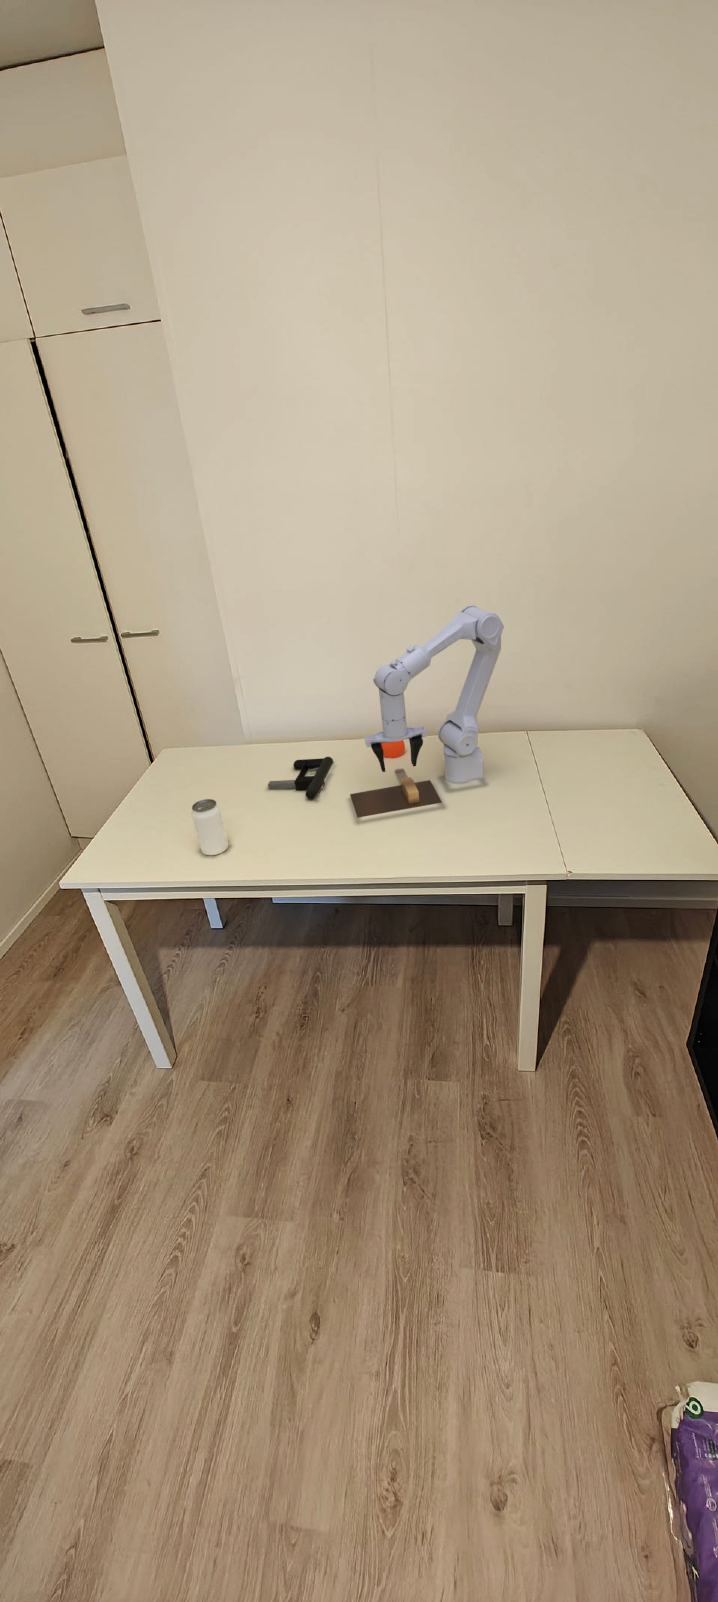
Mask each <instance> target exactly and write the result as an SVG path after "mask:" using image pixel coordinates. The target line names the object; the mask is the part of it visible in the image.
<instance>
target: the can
mask: <svg viewBox="0 0 718 1602" xmlns="http://www.w3.org/2000/svg"><path fill="white" fill-rule="evenodd" d="M191 809H192V810H191V817H192V821H193V826H194V829H195V833H196V836H197V839H198V844H199V847H200V851H201V853H202V854H204V855H206V856H211V857H212V856H217V855H220V854H222V853H224V852H226V850H228V847H229V841H228V837H227V833H226V828H225V824H224V820H223V817H222V811H221V808H220V806H219V805H218V804H217V801H216V800H215V799H212V798H205V799H201V800H197V801H196V802H195V803H194V804H192V806H191Z"/></svg>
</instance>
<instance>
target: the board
mask: <svg viewBox="0 0 718 1602" xmlns="http://www.w3.org/2000/svg"><path fill="white" fill-rule="evenodd" d="M414 784H415V786H416V788H417V790H418V792H419V802H417V803H411V804H409V802H408V800H407V798H406V796H405V794H404V792H403V789H402V787H401V785H400V784H399V785H394V786H389V787H388V786H387V787H383V788H377V789H371V790H365V791H359V792H355V793H350V794H349V796H350V799H351V802H352V805H353V808H354V811H355V815H356V818H357V819H359V818H365V817H369V816H370V817H371V816H376V815H381V814H387V813H393V812H397V811H404V810H410V809H414V808H421V807H426V806H430V805H437V804H443V801H442V799H441V798H440V795H439V794H438V791H437V790H436V789H435V787H434V784H433V783H432V781H431V779H428V780H423V781H417V782H416V781H415V782H414Z"/></svg>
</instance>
